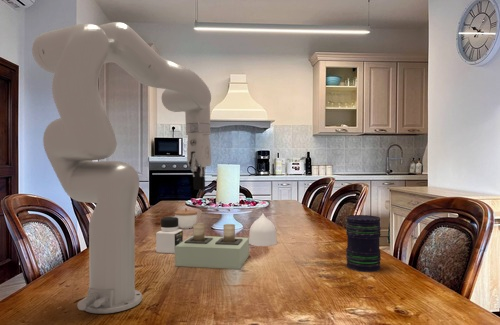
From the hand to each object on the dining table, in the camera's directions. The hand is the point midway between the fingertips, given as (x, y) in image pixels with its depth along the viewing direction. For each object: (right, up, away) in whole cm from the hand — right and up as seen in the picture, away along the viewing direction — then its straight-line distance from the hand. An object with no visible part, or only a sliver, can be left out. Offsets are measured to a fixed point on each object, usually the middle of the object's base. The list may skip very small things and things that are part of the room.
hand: (199, 189), depth 113 cm
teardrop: (+21, -23, +29) cm, 43 cm away
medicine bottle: (-13, -23, +17) cm, 32 cm away
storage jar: (+50, -23, -4) cm, 55 cm away
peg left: (-1, -18, +5) cm, 19 cm away
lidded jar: (-15, -23, +63) cm, 69 cm away
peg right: (+9, -18, +3) cm, 20 cm away
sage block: (+4, -23, +4) cm, 24 cm away
